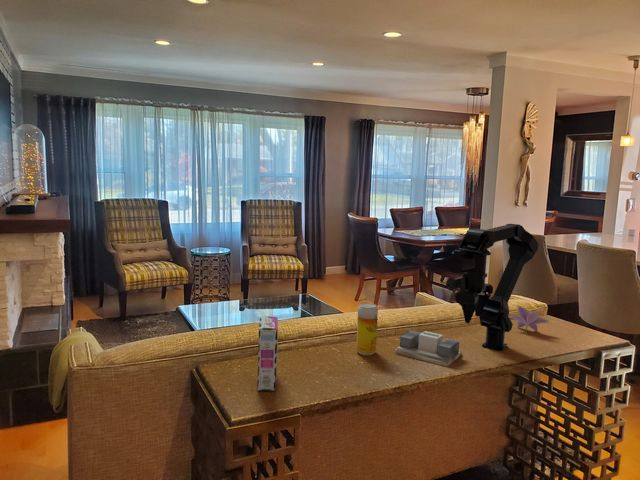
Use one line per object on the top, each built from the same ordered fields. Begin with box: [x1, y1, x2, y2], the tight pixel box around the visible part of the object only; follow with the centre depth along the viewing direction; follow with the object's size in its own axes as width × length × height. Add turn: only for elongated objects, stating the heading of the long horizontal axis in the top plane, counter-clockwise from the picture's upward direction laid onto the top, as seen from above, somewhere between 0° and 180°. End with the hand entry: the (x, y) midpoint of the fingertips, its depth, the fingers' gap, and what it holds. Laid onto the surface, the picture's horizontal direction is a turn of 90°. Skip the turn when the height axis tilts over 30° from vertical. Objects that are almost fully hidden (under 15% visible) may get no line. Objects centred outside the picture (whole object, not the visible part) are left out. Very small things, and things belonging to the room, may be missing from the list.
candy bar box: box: [257, 316, 279, 392], centre depth 132 cm, size 11×5×16 cm, turn 5°
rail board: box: [395, 330, 462, 367], centre depth 156 cm, size 12×16×5 cm
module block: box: [418, 330, 444, 354], centre depth 157 cm, size 4×6×5 cm
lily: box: [509, 305, 550, 336], centre depth 181 cm, size 12×12×10 cm
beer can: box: [355, 302, 379, 356], centre depth 156 cm, size 6×6×15 cm
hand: (472, 319), depth 157 cm, fingers open, 9 cm apart
